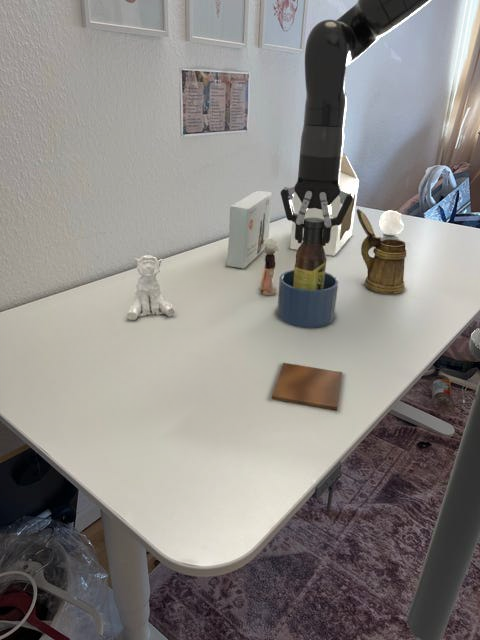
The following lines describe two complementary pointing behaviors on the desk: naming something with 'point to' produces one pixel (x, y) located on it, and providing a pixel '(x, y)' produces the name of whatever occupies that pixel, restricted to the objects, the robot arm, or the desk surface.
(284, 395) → the wooden coaster
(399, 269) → the wooden mug
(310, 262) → the sauce bottle
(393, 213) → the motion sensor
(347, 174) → the gable box
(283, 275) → the blue cup
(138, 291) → the sitting furry creature
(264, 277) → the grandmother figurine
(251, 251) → the skincare box
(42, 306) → the desk surface
